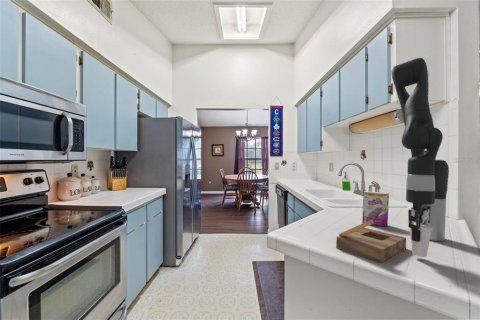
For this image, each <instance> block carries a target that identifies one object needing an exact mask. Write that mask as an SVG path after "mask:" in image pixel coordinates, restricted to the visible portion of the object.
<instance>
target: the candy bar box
mask: <svg viewBox="0 0 480 320" xmlns="http://www.w3.org/2000/svg"><path fill="white" fill-rule="evenodd" d="M389 193H390V192H389ZM389 193H388V192H380V191H379V192H378V191H370V190H369V191H367V190H364V191H363V200H362V202H363V203H362V220H361V221H362V223H361V224H363V223H365V222H367V221H370V220H373V221H374V224H371V225H372V226H378V227H386V228H388V224H389V223H388V222H389V203H390V201H389V199H390V197H389V196H390V194H389ZM371 225H370V226H371Z"/></svg>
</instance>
